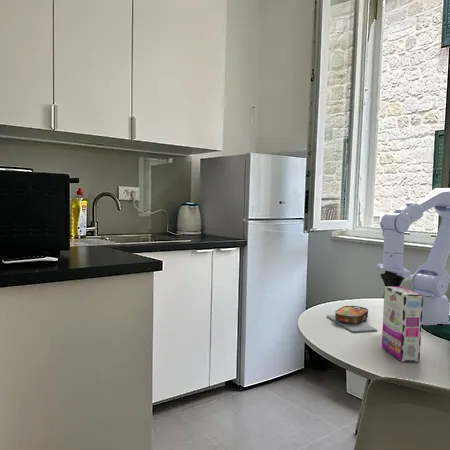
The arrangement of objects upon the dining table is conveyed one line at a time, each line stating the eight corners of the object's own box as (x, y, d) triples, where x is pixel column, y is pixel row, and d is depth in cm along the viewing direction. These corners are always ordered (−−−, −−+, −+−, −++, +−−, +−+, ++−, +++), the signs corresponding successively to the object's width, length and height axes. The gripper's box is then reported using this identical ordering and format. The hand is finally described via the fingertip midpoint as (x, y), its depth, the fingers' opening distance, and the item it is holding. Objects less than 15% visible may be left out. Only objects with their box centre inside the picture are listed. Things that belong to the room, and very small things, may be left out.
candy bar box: (421, 362, 105) (424, 295, 104) (401, 362, 104) (404, 294, 103) (399, 346, 116) (401, 285, 115) (380, 347, 115) (383, 285, 114)
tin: (358, 317, 132) (331, 311, 136) (356, 327, 132) (330, 321, 137) (371, 308, 144) (346, 302, 149) (370, 317, 145) (345, 311, 149)
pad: (348, 316, 146) (348, 314, 146) (377, 331, 129) (377, 329, 129) (326, 317, 144) (326, 315, 144) (352, 332, 127) (352, 330, 127)
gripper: (368, 250, 138) (366, 292, 138) (395, 256, 123) (394, 303, 124) (388, 249, 139) (386, 291, 140) (417, 255, 125) (415, 302, 126)
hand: (391, 297), depth 132 cm, fingers closed
